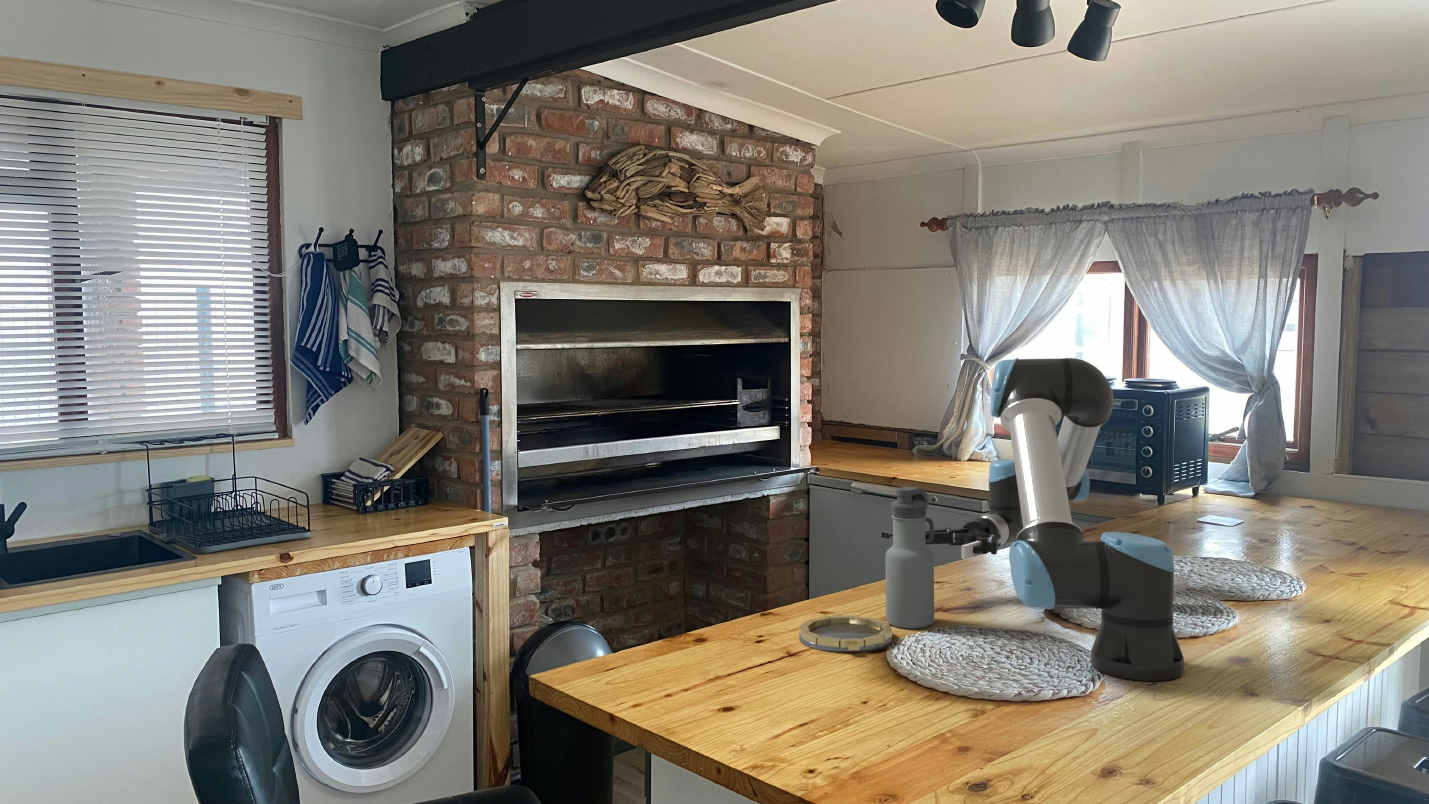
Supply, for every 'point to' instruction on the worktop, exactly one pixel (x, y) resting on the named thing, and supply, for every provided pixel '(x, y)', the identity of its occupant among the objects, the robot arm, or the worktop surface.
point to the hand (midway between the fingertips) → (934, 548)
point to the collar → (845, 634)
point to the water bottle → (910, 563)
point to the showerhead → (1178, 585)
